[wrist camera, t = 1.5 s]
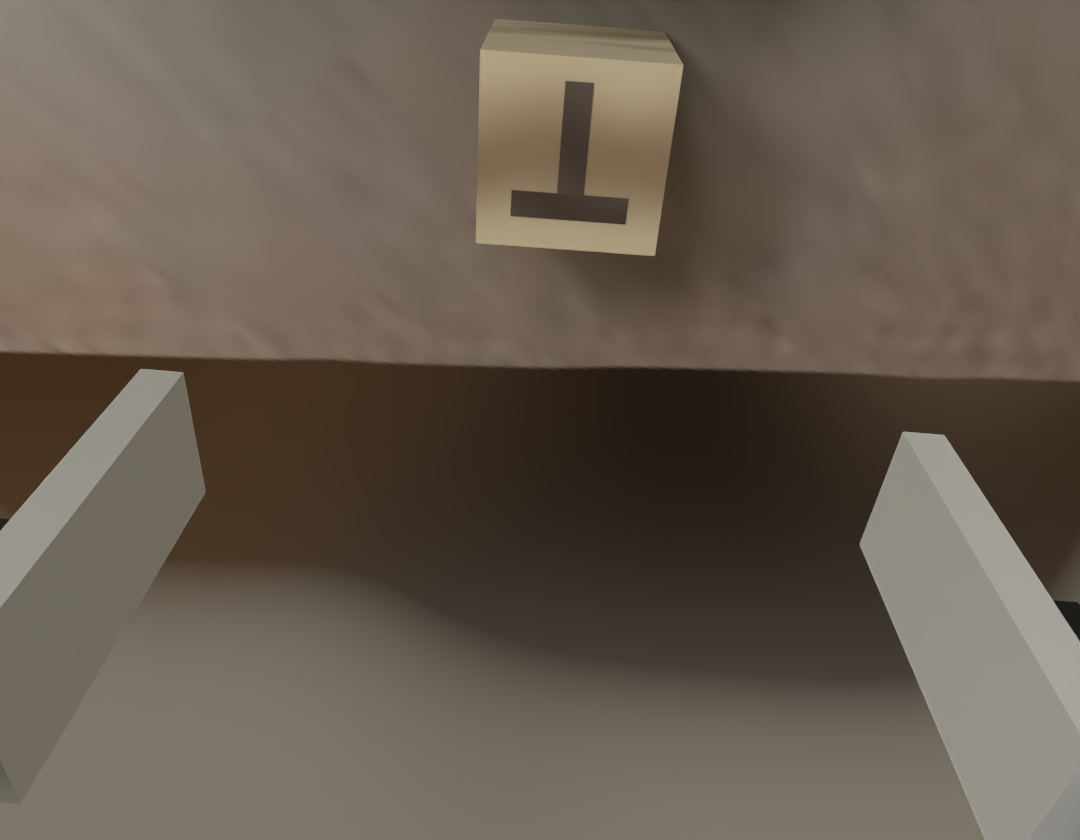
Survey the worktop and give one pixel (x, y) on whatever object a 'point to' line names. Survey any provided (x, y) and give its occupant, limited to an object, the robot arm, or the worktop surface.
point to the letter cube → (574, 136)
